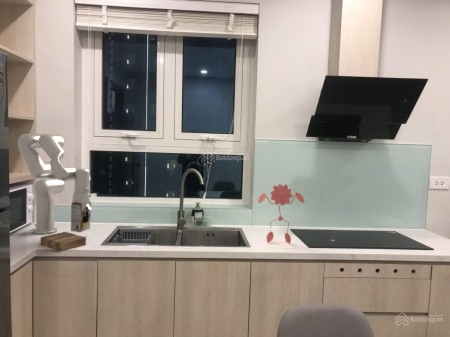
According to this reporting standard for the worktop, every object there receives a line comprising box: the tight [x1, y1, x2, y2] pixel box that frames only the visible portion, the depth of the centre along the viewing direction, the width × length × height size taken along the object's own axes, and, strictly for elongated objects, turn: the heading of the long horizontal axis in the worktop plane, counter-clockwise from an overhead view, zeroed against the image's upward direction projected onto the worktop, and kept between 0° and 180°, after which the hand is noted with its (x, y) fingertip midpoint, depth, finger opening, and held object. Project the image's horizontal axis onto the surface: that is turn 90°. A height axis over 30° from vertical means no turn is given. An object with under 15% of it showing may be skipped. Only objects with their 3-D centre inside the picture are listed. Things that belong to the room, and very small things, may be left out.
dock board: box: [40, 231, 87, 252], centre depth 182 cm, size 18×14×4 cm
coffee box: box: [70, 201, 92, 233], centre depth 195 cm, size 9×6×16 cm
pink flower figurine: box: [257, 183, 305, 245], centre depth 195 cm, size 15×26×35 cm, turn 85°
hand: (80, 220), depth 195 cm, fingers closed on coffee box, 7 cm apart
